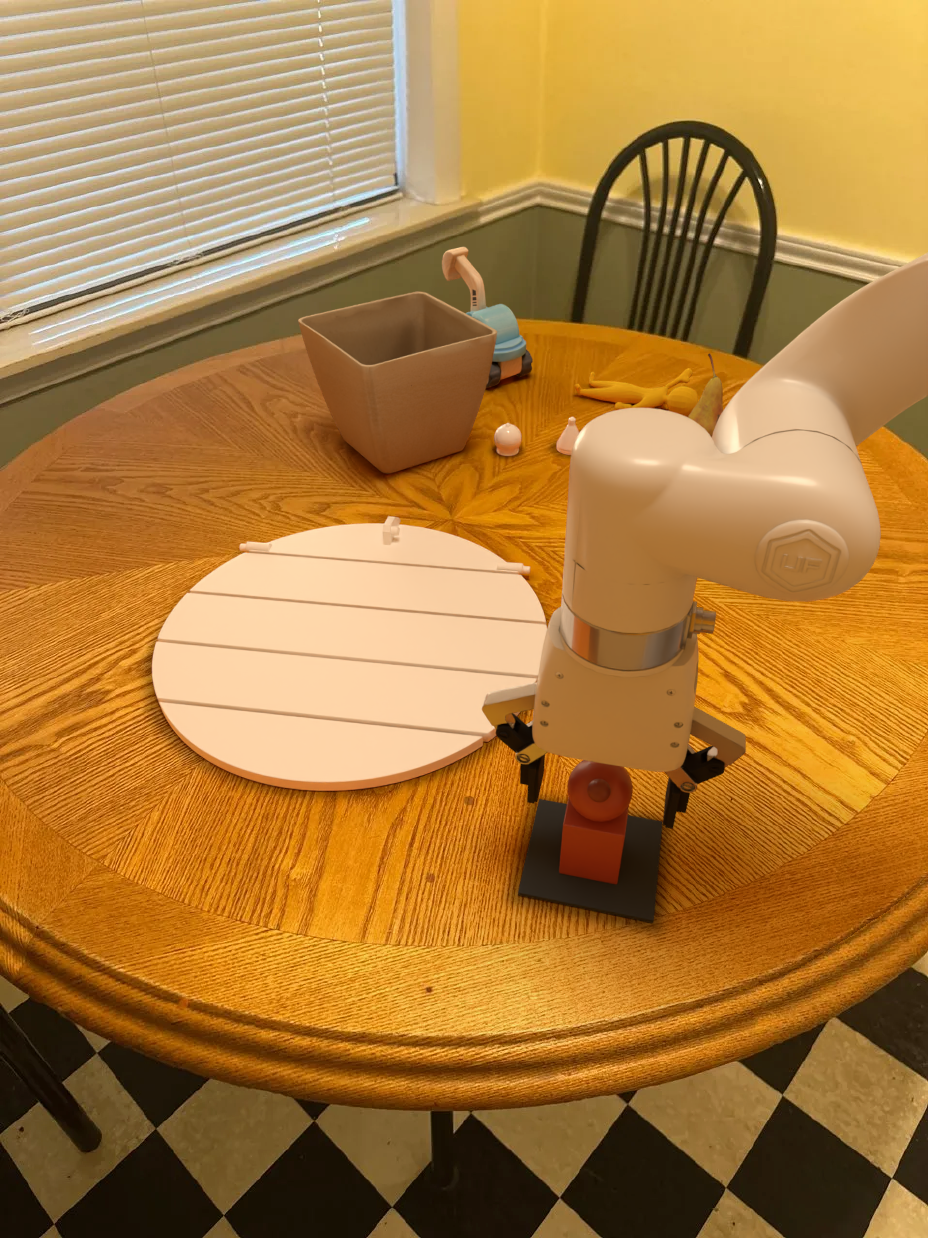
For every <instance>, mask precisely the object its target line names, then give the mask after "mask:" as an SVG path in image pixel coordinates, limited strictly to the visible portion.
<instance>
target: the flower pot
mask: <svg viewBox="0 0 928 1238" xmlns="http://www.w3.org/2000/svg"><path fill="white" fill-rule="evenodd" d="M297 322H298V326H299V331H300V335H301V337H302V341H303V343H304V344H303V345H304V347H305V349H306V354H307V356H308V359H309V362H310V365H311V368H312V371H313V373H314V376H315V379H316V382H317V384H318V386H319V387H318V388H319V389H320V392H321V394H322V397H323V400H324V401H325V404H326V406H327V408H328V411H329V413H330V415H331V417H332V419H333V421H334V424H335V425H336V428H337V429H338V431H339V433H340V436H342V439H343V441H345V442H346V443H347V444H348V445H349V446H351V447H352V448H353V449H354V450H355V451H356V452H357V453H358V454H360V455H361V456H362V457H363V458H364V459H365V460H367V461H368V462H369V463H370V464H371V465H372V466H374V467H375V468H376V469H377V470H378V471H379V472H381V473H383V474H393V473H396V472H400V471H402V470H405V469H408V468H412V467H415V466H418V465H421V464H424V463H427V462H430V461H431V462H432V461H434V460H437V459H440V458H443V457H447V456H449V455H452V454H456V453H459V452H461V451H463V450H464V449H465V446H466V444H467V442H468V440H469V437H470V435H471V432H472V431H473V428H474V425H475V423H476V419H477V416H478V413H479V411H480V408H481V405H482V401H483V399H484V395H485V392H486V389H487V388H486V385H487V381H488V377H489V373H490V369H491V364H492V359H493V354H494V349H495V344H496V337H497V331H496V330H495V329H493V328H491V327H489V326H488V325H486V324H484V323H482V322H480V321H478V320H476V319H475V318H473V317H471V316H469V315H467V314H466V313H465V312H464V311H461V310H460V309H458V308H456V307H454V306H453V305H450V304H448V303H446V302H445V301H443V300H441V299H439V298H437V297H435V296H433V295H431V294H430V293H428V292H425V291H419V290H418V291H413V292H408V293H404V294H399V295H395V296H389V297H384V298H380V299H376V300H371V301H369V302H368V301H367V302H363V303H359V304H353V305H349V306H345V307H341V308H337V309H333V310H328V311H324V312H319V313H314V314H311V315H306V316H303V317H299V318H298V320H297Z"/></svg>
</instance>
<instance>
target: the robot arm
mask: <svg viewBox="0 0 928 1238" xmlns="http://www.w3.org/2000/svg"><path fill="white" fill-rule="evenodd" d="M927 397H928V251H927V252H925V253H924V254H922V255H920V256H918V257H916V258H914V259H913V260H911V261H909V262H906V263H904V264H903V265H901V266H900V267H897V268H895V269H893V270H891V271H889V272H888V273H886V274H884V275H882V276H879V277H878V278H876V279H874V280H873V281H871V282H869V283H868V284H865V285H864V286H862V287H861V288H859V289H857V290H856V291H854V292H853V293H851V294H850V295H848V296H847V297H844V298H843V299H842V300H841V301H839V302H838V303H836V304H835V305H834V306H832V307H831V308H830V309H828V310H827V311H826V312H824V313H823V314H822V315H821V316H820V317H818V318H817V319H816V320H815V321H813V322H812V323H811V324H810V325H809V326H808V327H806V328H805V329H804V330H803V331H801V332H800V333H799V334H798V335H797V336H796V337H795V338H794V339H793V340H791V341H790V342H789V343H788V344H787V345H786V346H784V347H783V348H782V349H781V350H780V351H779V352H778V353H777V354H776V355H774V356H773V357H772V358H771V359H769V361H768V362H766V363H765V364H764V365H763V366H762V367H761V368H759V370H757V371H756V372H755V373H754V374H753V376H751V377H750V378H749V379H748V380H747V381H746V382H745V383H744V384H743V385H742V386H741V387H740V389H739V390H737V392H736V393H734V395H733V396H732V397H731V399H729V402H728V403H727V404H726V406H725V408H723V412H722V413H721V415H720V417H719V419H718V421H717V424H716V426H715V428H714V431H713V435H712V438H711V436H710V434H709V433H708V432H707V431H706V430H705V429H704V428H703V427H702V426H700V425H699V424H698V423H696V422H695V421H694V420H692V419H690V418H688V416H687V417H686V416H683V415H681V414H678V413H675V412H671V411H669V410H666V409H661V408H655V407H653V408H626V409H619V410H616V409H614V410H611V411H607V412H606V413H603V414H601V415H598V416H596V417H595V418H593V419H592V420H590V421H589V422H587V423H586V425H584V426H583V428H581V430H580V431H579V434H578V436H577V438H576V440H575V441H574V445H573V448H572V453H571V455H570V462H569V474H568V489H567V493H568V494H567V506H566V521H565V540H564V557H563V571H562V588H561V600H560V601H561V603H560V605H561V606H559V607H557V608H556V610H554V611H553V613H552V614H551V617H550V619H549V622H548V625H547V631H546V636H545V640H544V644H543V649H542V654H541V660H540V666H539V672H538V679H537V683H532V684H528V685H523V686H519V687H514V688H510V689H505V690H501V691H496V692H492V693H488V694H487V695H486V697H485V700H484V703H483V706H482V711H483V713H484V714H485V716H486V717H487V719H488V720H489V722H490V723H491V725H492V726H494V727H495V729H496V736H495V737H497V738H498V739H499V740H500V741H501V742H502V743H503V744H505V745H506V746H507V747H508V748H509V749H511V750H512V752H514V753H515V756H514V759H515V762H517V763H518V764H520V765H519V766H520V769H519V784H520V785H524V786H527V792H526V793H527V795H526V798H527V799H526V802H527V804H535V803H538V802H539V797H540V792H541V788H542V784H543V779H544V775H545V763H546V755H547V754H548V753H549V754H552V755H555V756H561V757H565V758H571V759H575V760H581V761H583V760H586V761H592V762H598V763H604V764H610V765H616V766H622V767H624V768H628V769H633V770H634V769H635V770H641V771H648V772H658V773H662V772H663V773H664V774H665V775H666V776H667V777H668V778H667V784H666V789H665V794H664V806H663V816H662V817H663V818H662V826H664V827H665V828H666V829H672V830H673V829H674V826H675V823H676V817H677V813H682V814H686V813H687V809H688V805H689V800H690V796H691V793H692V794H693V793H695V792H696V791H697V790H698V785H700V784H702V783H704V782H707V781H710V780H712V779H715V778H717V777H719V776H721V775H723V774H724V773H725V769H727V767H729V766H731V765H733V764H734V763H735V762H736V761H738V760H739V759H740V758H742V757H743V756H744V755H745V754H746V751H747V743H746V742H747V737H746V734H745V733H744V732H742V731H740V730H738V729H736V728H734V727H733V726H731V725H729V724H727V723H726V722H724V721H722V720H720V719H718V718H716V717H715V716H713V715H711V714H709V713H707V712H705V711H704V710H702V709H700V708H698V707H697V706H695V705H696V694H697V686H698V676H699V662H700V661H699V659H700V658H699V657H700V656H699V653H700V652H699V640H698V635H700V634H707V635H708V634H709V635H713V634H714V631H715V627H716V621H717V620H716V619H717V612H716V611H713V610H705V609H704V607H700V606H698V601H694V598H695V592H696V586H697V582H698V579H701V580H705V581H709V582H711V583H715V584H717V585H721V586H725V587H728V588H731V589H735V590H737V591H741V592H744V593H747V594H749V595H750V594H751V595H754V596H759V597H763V598H766V599H771V600H776V601H777V600H778V601H784V602H802V603H803V602H804V603H805V602H806V603H807V602H808V603H809V602H816V601H822V600H826V599H830V598H834V597H837V596H838V595H839V596H840V595H842V594H843V593H845V592H847V591H848V590H850V589H852V588H853V587H855V586H856V585H857V584H858V583H860V582H861V581H862V580H863V579H864V578H865V577H866V576H867V574H869V572H870V570H871V569H872V567H873V565H875V562H876V559H877V556H878V554H879V549H880V545H881V538H882V537H881V536H882V533H881V522H880V517H879V516H880V515H879V511H878V508H877V505H876V502H875V498H874V496H873V493H872V490H871V487H870V485H869V481H868V479H867V476H866V473H865V471H864V470H865V469H864V467H863V464H862V461H861V458H860V455H859V451H858V448H857V447H858V446H859V445H860V444H861V443H863V442H865V441H866V440H867V439H868V438H869V437H870V436H872V435H873V434H874V433H876V432H878V430H881V428H882V427H884V426H885V425H886V424H888V423H889V422H890V421H892V420H893V419H895V418H896V417H897V416H898V415H900V414H902V413H903V412H904V411H906V410H907V409H909V408H910V407H912V406H913V405H915V404H916V403H918V402H920V401H922V400H924V399H925V398H927ZM532 710H533V714H532V720H531V721H530V722H528V723H525V722H524V721H523V720H522V719H521V718H520V717H518V715H517V716H516V715H515V714H513V713H517V712H520V713H522V712H526V711H532ZM691 736H693V737H695V738H696V739H698V740H701V741H702V742H704V743H706V744H708V745H709V746H707V747H705V748H702V749H700V750H698V751H696V750H694V748H693V747H692V746H691V745H690V744H689V743H690V738H691Z"/></svg>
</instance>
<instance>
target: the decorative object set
mask: <svg viewBox="0 0 928 1238" xmlns="http://www.w3.org/2000/svg"><path fill="white" fill-rule="evenodd" d="M576 419H577V418H575V417H574V416H570V417H569V418H568V420H567V423H568V424H567V425H566V427H565V428H564V430H563V431H562V433H561V435H560V436H559V437H558V439H557V441H556V446H555V448H556V451H557V452H559V453H560V454H563V455H566V456H571V453H572V448H573V445H574V441H575V440H576V438H577V436H578V434H579V432H580V431H579V429H578V426H577V425H576V421H577V420H576ZM493 435H494V436H493V441H494V444H495V446H496V453H497V454H498V455H500V456H504V457H512V456H515V455H517V454H518V453H519V452H520V449H519V447H520V446H521V443H522V440H523V437H522V433H521V429H519V427H518V426H516V425H515V424H513V423H510V422H507V423H503V424H501V425H500V426H499V427H497V428H496V430H495V431H494V434H493Z"/></svg>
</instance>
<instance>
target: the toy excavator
mask: <svg viewBox="0 0 928 1238" xmlns="http://www.w3.org/2000/svg"><path fill="white" fill-rule="evenodd" d="M469 251H470V250H469V249H468V248H467V247H466V246H460V247H456V248H452V249H448V250H446V251H445V252H444V253H443V255H442V259H441V269H442V273H443V276H444V278H445V280H446V281H447V282H451V281H455V280H458V279H461V278H462V280H463V281H464V283H465V284H466V286H467V288H468V289H469V292H470V311H468V312H466V313H465V314H467V315H469V316H471V317H473V318H475V319H476V320H478V321H480V322H482V323H484V324H486V325H488V326H489V327H491V328H493V329H495V330H496V331H497V337H496V344H495V349H494V354H493V359H492V364H491V369H490V373H489V377H488V381H487V385H486V388H485V389H488V388H491V387H494V386H496V385H498V384H500V382H501V381H502V380H504V379H507V378H510V377H512V376H515V375H516V376H517V377H518V378H521V377H523V376H526V375H528V374H530V373H531V372H532V371H533V367H532V364H533V362H534V360H533V357H532V355H531V353H530V351H529V350H528V349H527V341H526V340H525V339H524V337H523V335H521V334H520V327H519V323H518V321H517V317H516V316H515V314H514V312H513V311H512V309H510V307H508V306H507V305H506V304H503V303H499V304H495V305H492V306H489V307H488V306H487V301H486V300H487V299H486V291H485V285H484V280H483V278H482V275H481V274H480V273H479V272H478V270H477V269H476V268H475V267H474V266H473V264H472V263H471V262H470V261H469V260H468V256H469Z"/></svg>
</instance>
